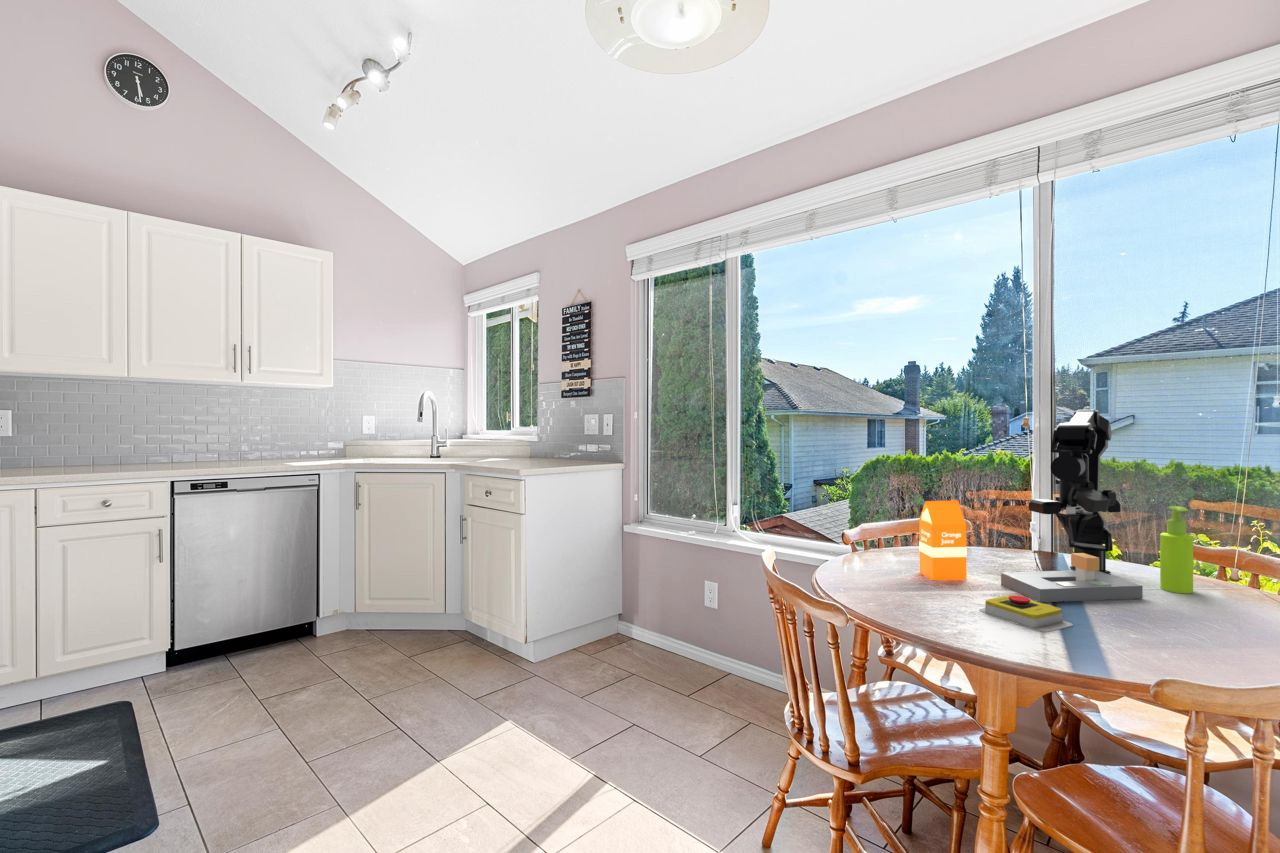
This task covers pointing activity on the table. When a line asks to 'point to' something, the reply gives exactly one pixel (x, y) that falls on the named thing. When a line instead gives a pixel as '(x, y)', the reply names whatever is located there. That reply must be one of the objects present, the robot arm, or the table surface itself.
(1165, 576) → the soap dispenser
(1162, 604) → the table surface
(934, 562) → the orange juice
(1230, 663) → the table surface
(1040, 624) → the emergency button
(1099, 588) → the breaker box
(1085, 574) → the lever
